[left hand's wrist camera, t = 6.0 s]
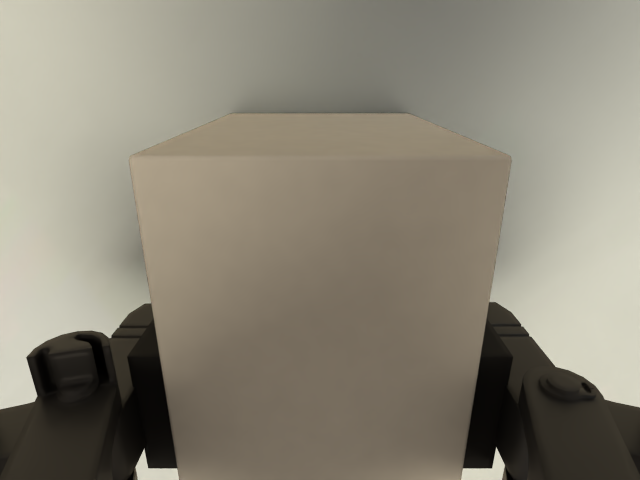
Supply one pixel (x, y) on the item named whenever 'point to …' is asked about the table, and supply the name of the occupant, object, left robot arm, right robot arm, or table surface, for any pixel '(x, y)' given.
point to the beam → (320, 292)
